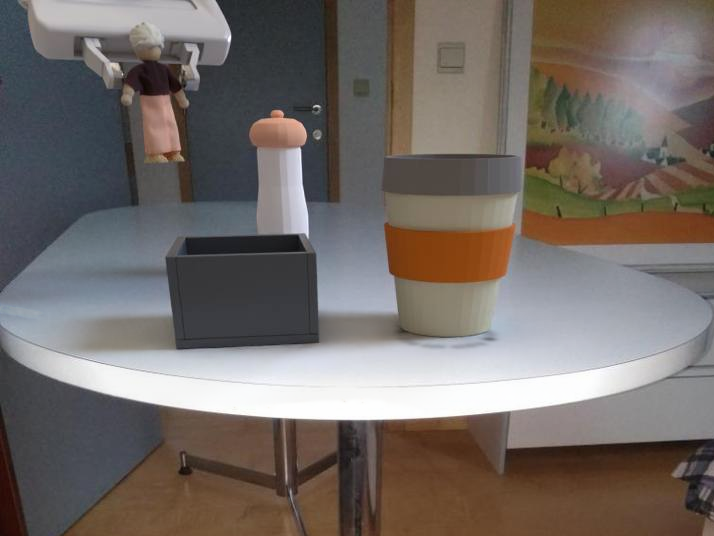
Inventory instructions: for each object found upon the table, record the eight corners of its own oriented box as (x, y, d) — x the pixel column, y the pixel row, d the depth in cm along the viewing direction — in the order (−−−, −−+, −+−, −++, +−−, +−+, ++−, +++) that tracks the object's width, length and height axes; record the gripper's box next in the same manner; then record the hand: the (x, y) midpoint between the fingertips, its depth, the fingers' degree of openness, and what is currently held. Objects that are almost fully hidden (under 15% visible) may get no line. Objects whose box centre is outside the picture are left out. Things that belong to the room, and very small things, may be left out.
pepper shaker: (246, 272, 96) (234, 110, 88) (290, 265, 101) (282, 111, 92) (279, 279, 91) (270, 109, 83) (323, 272, 96) (319, 110, 87)
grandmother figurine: (173, 160, 81) (158, 26, 75) (199, 160, 79) (185, 24, 73) (121, 163, 75) (99, 19, 69) (147, 164, 73) (127, 16, 67)
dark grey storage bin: (176, 349, 63) (165, 257, 60) (186, 315, 74) (177, 236, 71) (319, 342, 65) (316, 252, 61) (308, 310, 76) (305, 233, 73)
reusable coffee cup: (420, 305, 78) (424, 153, 71) (530, 319, 72) (546, 154, 65) (355, 330, 69) (353, 157, 62) (475, 349, 62) (488, 160, 56)
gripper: (6, -59, 68) (48, 52, 65) (209, -37, 78) (253, 61, 75) (8, 3, 74) (47, 109, 71) (198, 17, 84) (239, 110, 81)
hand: (155, 84), depth 73 cm, fingers closed on grandmother figurine, 6 cm apart
